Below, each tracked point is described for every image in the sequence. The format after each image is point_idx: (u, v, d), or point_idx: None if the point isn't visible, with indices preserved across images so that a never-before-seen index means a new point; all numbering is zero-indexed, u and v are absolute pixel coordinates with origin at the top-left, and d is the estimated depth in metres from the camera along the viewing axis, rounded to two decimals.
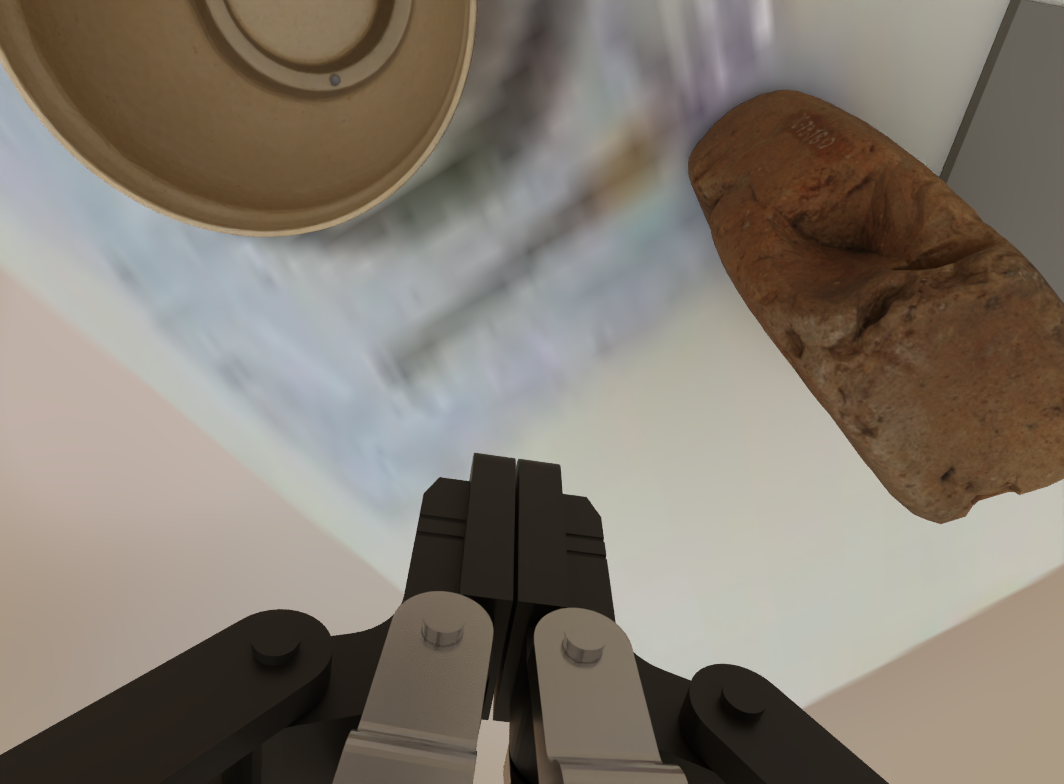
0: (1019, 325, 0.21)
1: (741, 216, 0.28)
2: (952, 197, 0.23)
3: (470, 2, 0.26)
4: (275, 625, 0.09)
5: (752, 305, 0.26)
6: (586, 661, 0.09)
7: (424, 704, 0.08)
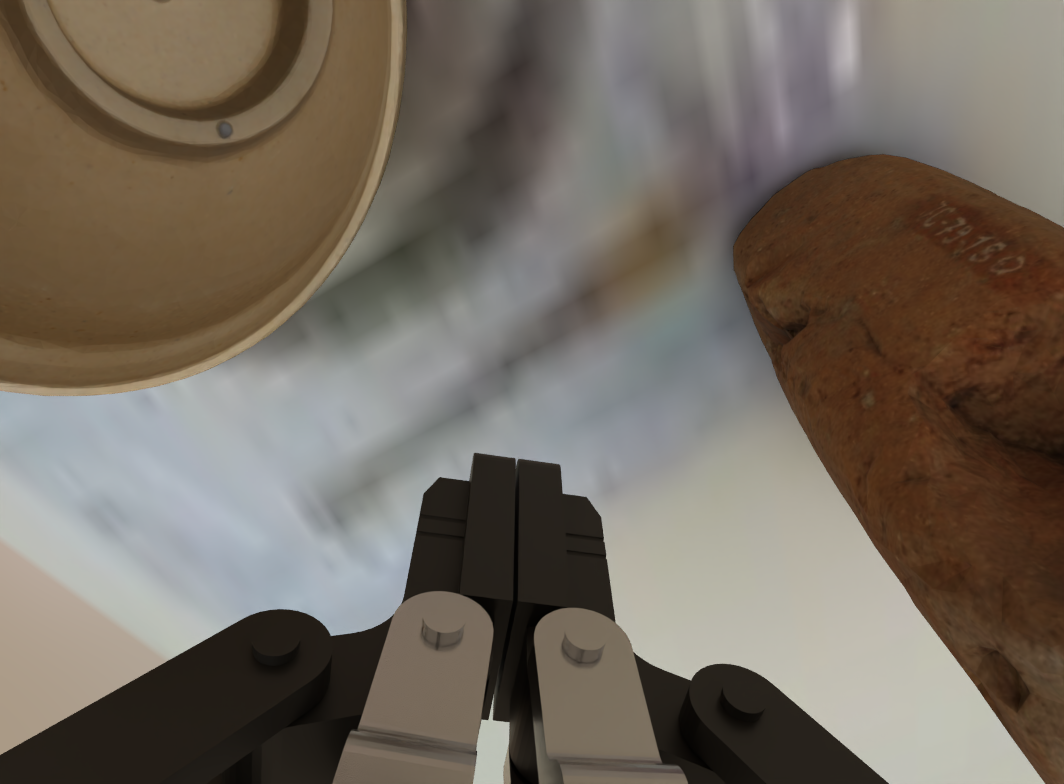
0: None
1: (851, 377, 0.17)
2: None
3: (392, 18, 0.14)
4: (275, 625, 0.09)
5: (896, 564, 0.14)
6: (586, 661, 0.09)
7: (424, 704, 0.08)
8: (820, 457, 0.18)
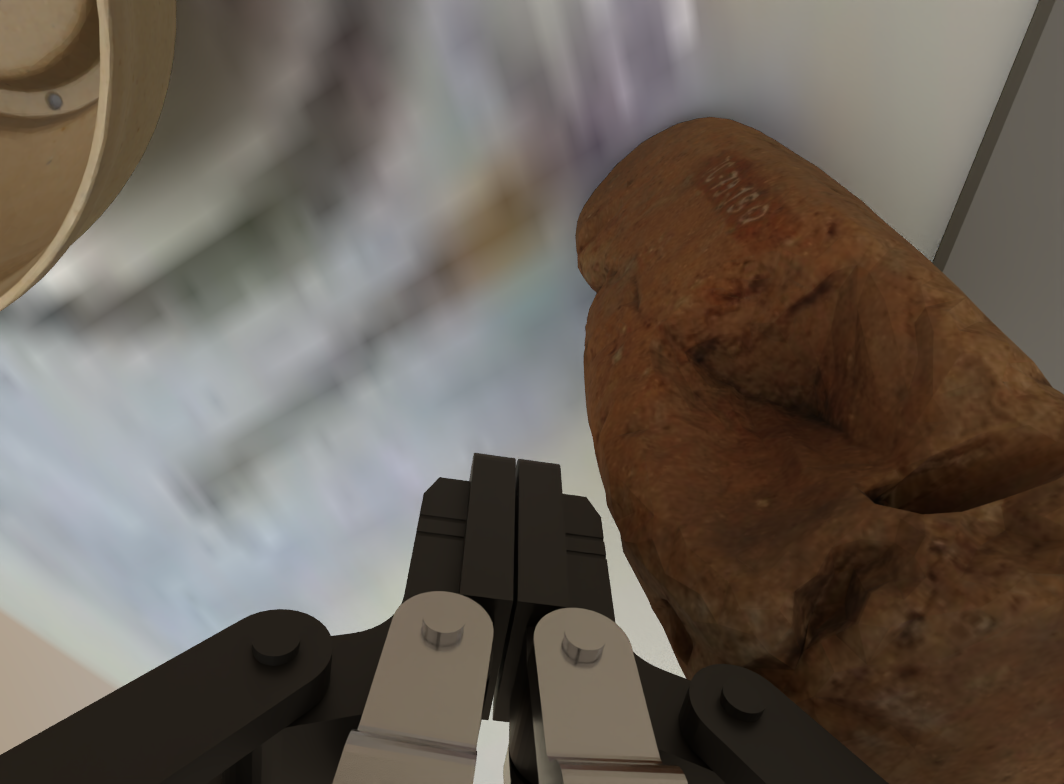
0: None
1: (614, 333, 0.17)
2: (989, 337, 0.12)
3: None
4: (275, 625, 0.09)
5: (614, 519, 0.14)
6: (585, 661, 0.09)
7: (424, 704, 0.08)
8: None
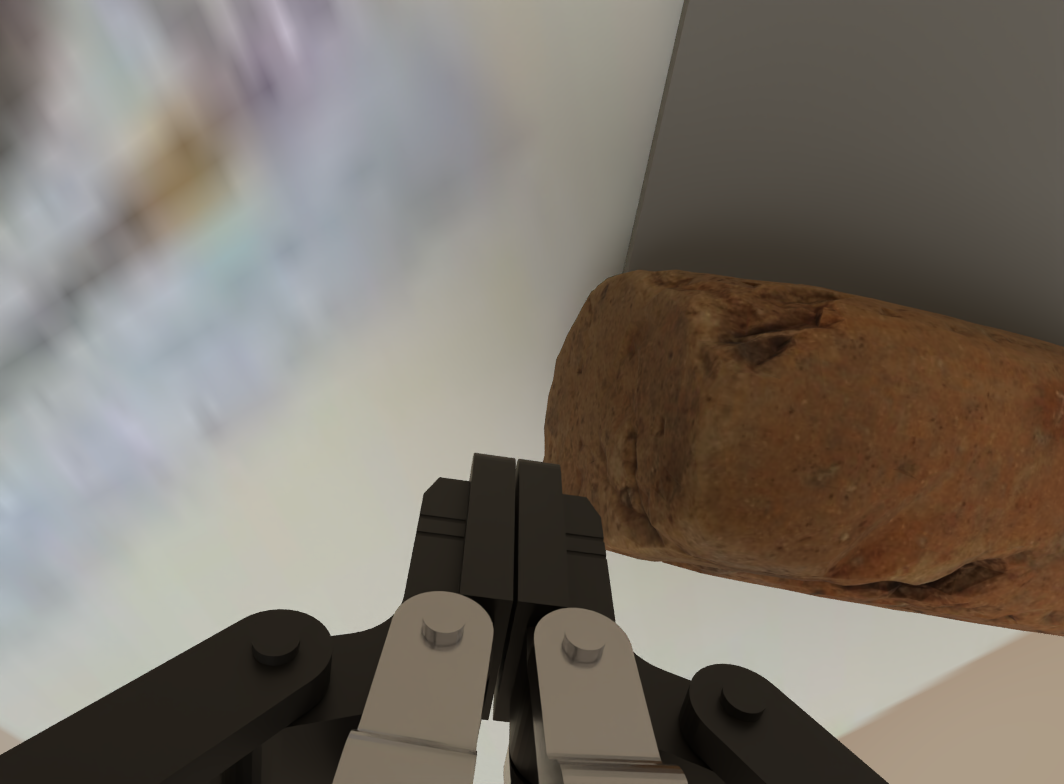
0: None
1: None
2: None
3: None
4: (275, 625, 0.09)
5: None
6: (586, 661, 0.09)
7: (424, 704, 0.08)
8: (1030, 631, 0.20)
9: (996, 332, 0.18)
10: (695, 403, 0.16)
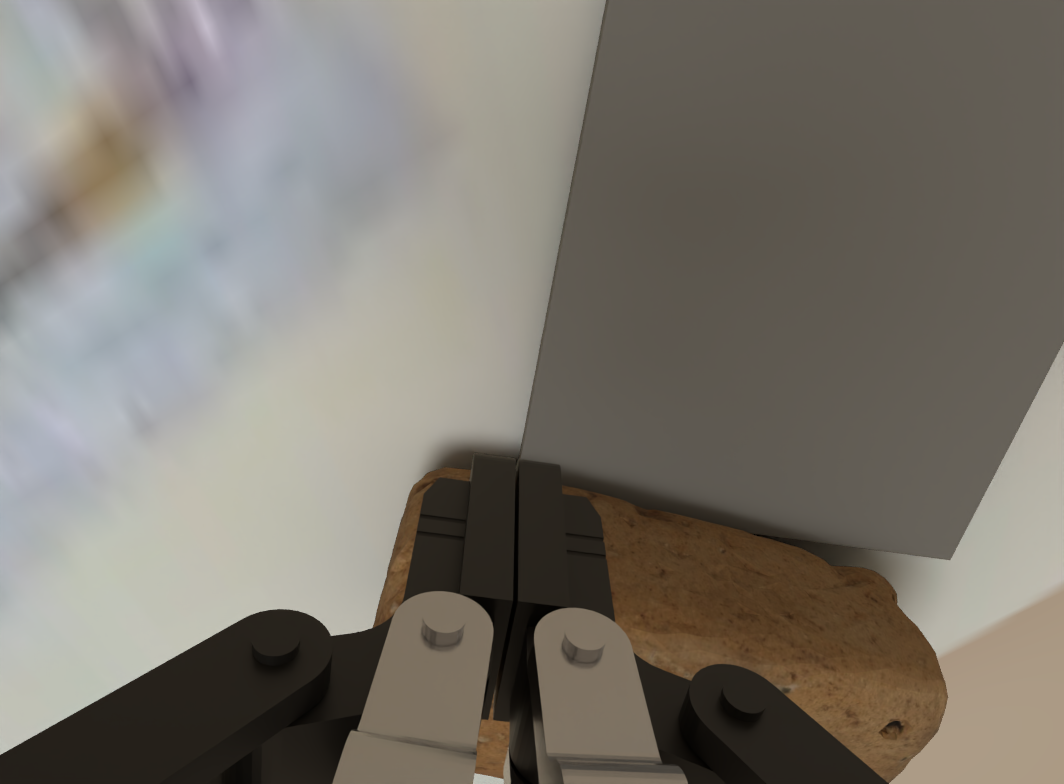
0: None
1: None
2: None
3: None
4: (275, 625, 0.09)
5: None
6: (586, 661, 0.09)
7: (424, 704, 0.08)
8: None
9: None
10: None
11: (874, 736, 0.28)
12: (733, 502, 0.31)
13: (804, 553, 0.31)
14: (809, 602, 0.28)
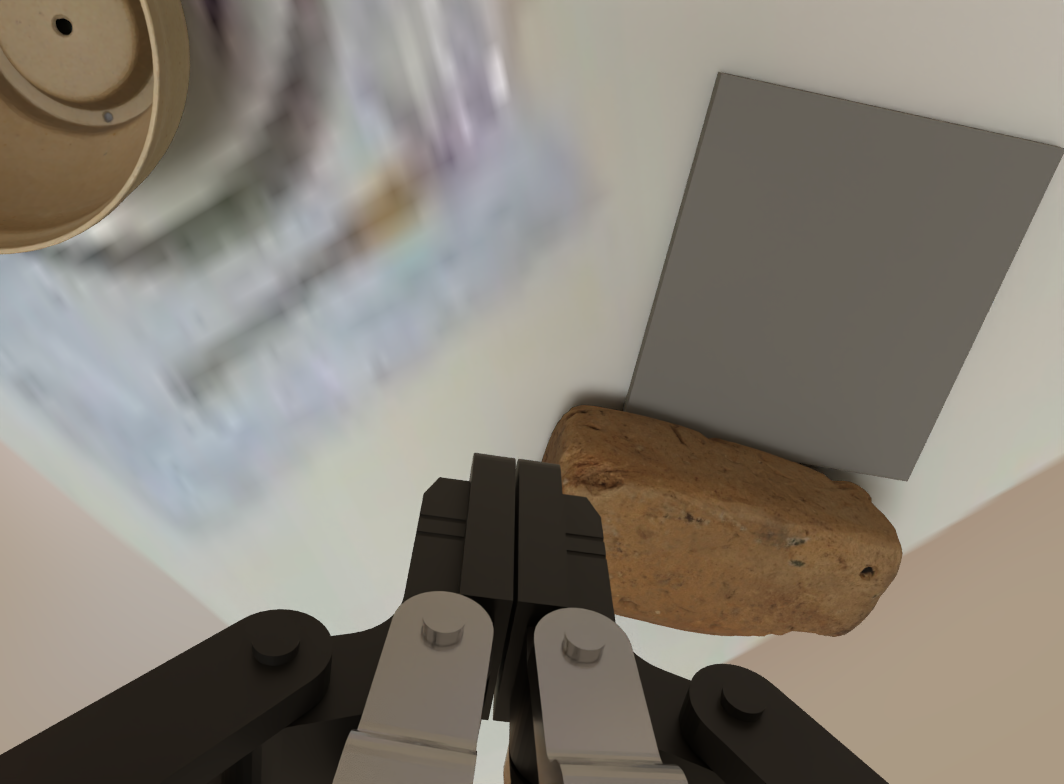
0: None
1: None
2: (778, 634, 0.47)
3: (152, 53, 0.29)
4: (275, 625, 0.09)
5: None
6: (586, 661, 0.09)
7: (424, 704, 0.08)
8: None
9: (630, 616, 0.46)
10: None
11: (856, 577, 0.44)
12: (765, 436, 0.48)
13: (811, 469, 0.47)
14: (816, 494, 0.44)
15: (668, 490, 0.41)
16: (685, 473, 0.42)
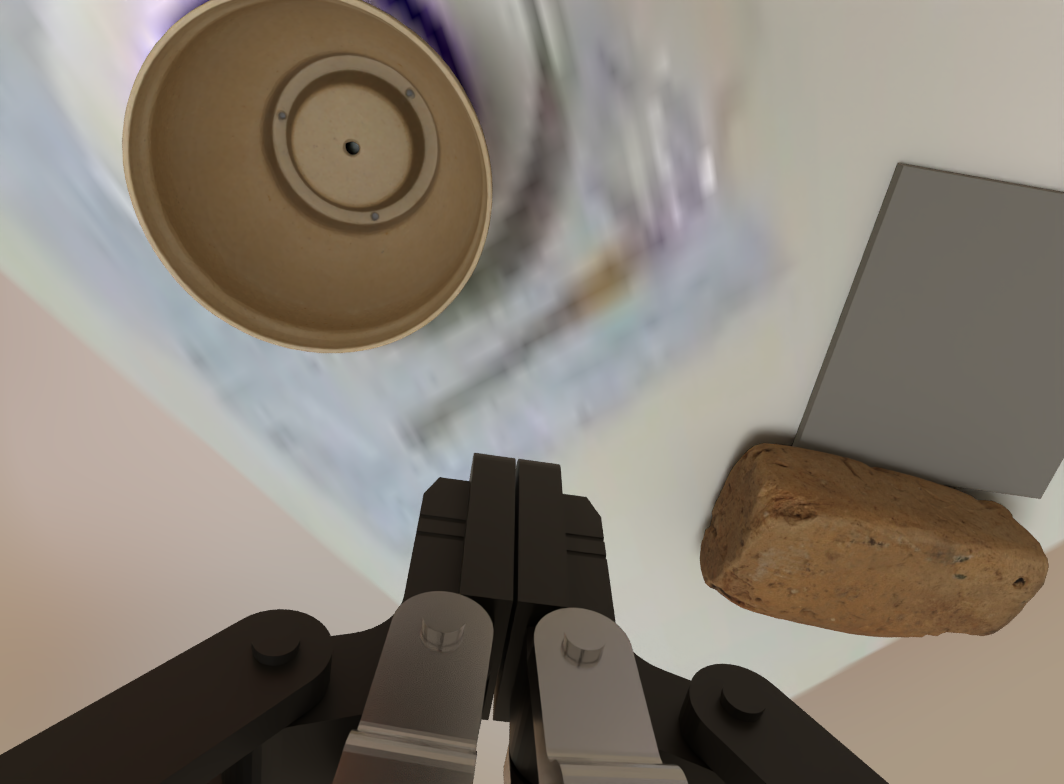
0: None
1: None
2: (933, 635, 0.54)
3: (487, 197, 0.36)
4: (275, 625, 0.09)
5: None
6: (586, 661, 0.09)
7: (424, 704, 0.08)
8: None
9: (806, 623, 0.53)
10: (702, 569, 0.55)
11: (1009, 586, 0.51)
12: (918, 464, 0.54)
13: (960, 491, 0.54)
14: (971, 516, 0.51)
15: (854, 519, 0.48)
16: (865, 503, 0.49)
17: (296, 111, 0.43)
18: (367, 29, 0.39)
